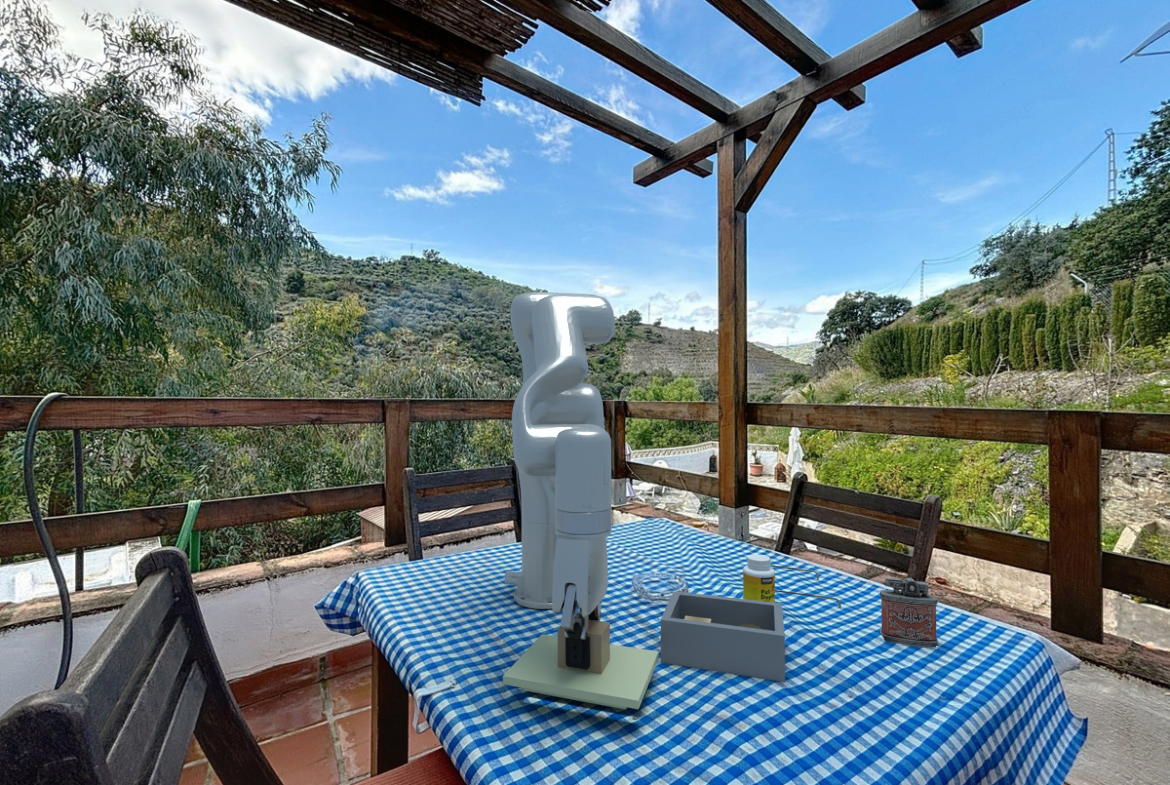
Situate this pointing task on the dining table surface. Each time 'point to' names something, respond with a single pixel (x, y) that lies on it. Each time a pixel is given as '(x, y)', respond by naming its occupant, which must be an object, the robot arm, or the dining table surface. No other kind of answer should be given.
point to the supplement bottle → (759, 579)
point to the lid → (607, 681)
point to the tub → (724, 635)
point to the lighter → (908, 613)
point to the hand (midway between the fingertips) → (583, 657)
